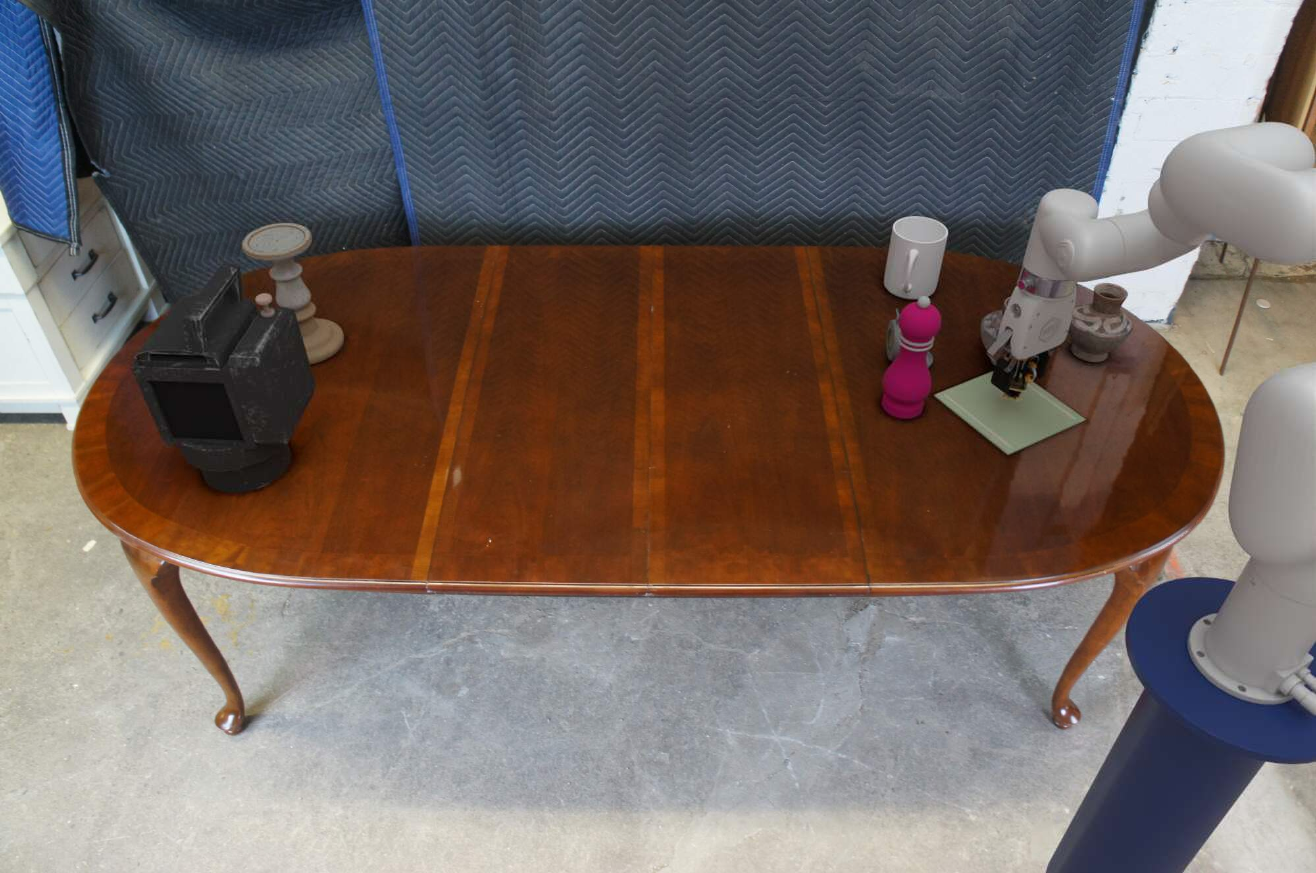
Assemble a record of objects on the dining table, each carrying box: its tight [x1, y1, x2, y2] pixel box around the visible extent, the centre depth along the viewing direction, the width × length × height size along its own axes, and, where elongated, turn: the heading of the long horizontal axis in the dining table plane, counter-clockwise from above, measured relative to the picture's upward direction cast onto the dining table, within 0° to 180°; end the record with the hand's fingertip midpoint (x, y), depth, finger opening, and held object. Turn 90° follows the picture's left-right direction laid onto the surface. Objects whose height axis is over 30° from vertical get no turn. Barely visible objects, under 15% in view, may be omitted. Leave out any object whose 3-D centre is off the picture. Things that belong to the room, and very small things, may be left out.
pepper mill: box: [881, 296, 942, 420], centre depth 146 cm, size 7×7×20 cm
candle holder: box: [241, 222, 345, 366], centre depth 158 cm, size 12×12×20 cm
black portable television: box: [130, 262, 317, 494], centre depth 133 cm, size 15×18×30 cm
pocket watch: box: [885, 308, 934, 369], centre depth 158 cm, size 8×8×10 cm
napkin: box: [933, 370, 1086, 456], centre depth 152 cm, size 16×16×1 cm
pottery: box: [979, 282, 1134, 371], centre depth 158 cm, size 11×25×12 cm, turn 101°
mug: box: [883, 215, 949, 301], centre depth 174 cm, size 10×12×12 cm
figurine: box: [1002, 352, 1039, 401], centre depth 148 cm, size 5×5×8 cm
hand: (1017, 379), depth 149 cm, fingers closed on figurine, 6 cm apart
